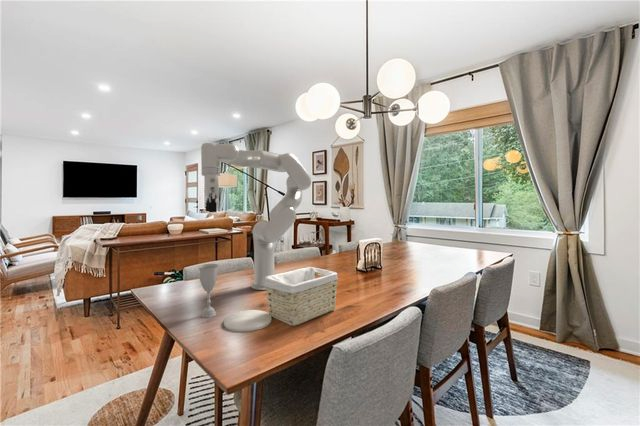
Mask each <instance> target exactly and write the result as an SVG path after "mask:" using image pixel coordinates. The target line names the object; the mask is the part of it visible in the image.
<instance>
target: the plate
mask: <svg viewBox="0 0 640 426" xmlns="http://www.w3.org/2000/svg"><path fill="white" fill-rule="evenodd" d="M223 319H224V320H223V327H224V328H225V329H226V330H229V331H232V332H237V333H248V332H255V331H259V330H261V329H264V328H266V327H268V326H269V325H271V323H272V317H271V315H270V314H269V311H265V310H259V309H248V310H247V309H246V310H240V311H236V312H233V313H231V314H228V315H227V316H225V318H223Z"/></svg>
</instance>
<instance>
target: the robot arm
mask: <svg viewBox="0 0 640 426" xmlns="http://www.w3.org/2000/svg"><path fill="white" fill-rule="evenodd" d="M200 148H201V149H200V153H201V156H200V157H201V159H200V160H201V169H200V170H201V176H202V177H203V176H204V177H203V178H204V179H203V180H204V181H203V182H204V183H203V184H204V185H203V186H204V188H203V189H204V197H205V211H206V212H208V213H217V212H218V211H217V210H218V207H217V206H218V205H217V204H218V203H217V199H219V198H220V189H219V188H220V187H219V177H220V176H221V168H220V167H221V163H224V164H228V165H233V166H240V167H245V168H246V167H247V168H252V169H261V170H267V171H273V172H277V173H286V174H287V175H288V176H287V178H286V183H285V184H286V194H285V195H284V196H283V198H282V199H281V200H280V201H279V202H278V203H276V205H274V207H273V208H272V209H271V210H270V213H269V220H268V221H267V220H260V221H258V222H257V223H255V224H254V226H253V228H252V240H253V250H254V251H253V261H254V263H253V264H254V265H253V267H254V270H253V271H254V272H253V274H254V276H253V277H254V278H253V279H254V280H253V281H254V282H252V283H251V284H250V287H251V289H252V290H257V291H259V290H260V291H267V290H266V287H265V277H267V276H271V275H275V243H276V242H278V241H279V240H281V238H282V237H283V236H284V235H285V234H286V232H288V230H289V229H290V228H291V227H292V226H293V225H294V223H295V222H296V218H297V213H296V210H297V208H299V206H300V205H301V202H302V199H303V191H305V190H308V189H309V188H310V186H311V185H312V179H311V178H312V177H311V176H310V174H309V172H308V171H307V170H306V169H305V167H304V166H303V164H302V163H301V162H300V161H299V160H298V157H296V156H295V155H294V154H293V153H291V152H287V153H282V154H281V153H278V152H277V153H276V152H271V151H267V150H261V149H254V150H244V149H239V148H238V147H237V146H236V145H235V144H232V143H214V142H204V143H202V144H201V147H200Z"/></svg>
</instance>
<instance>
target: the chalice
mask: <svg viewBox="0 0 640 426" xmlns="http://www.w3.org/2000/svg"><path fill="white" fill-rule="evenodd" d="M218 266H219V265H218V264H216V263H205V264H200V265H199V266H198V270H199V282H200V284H201V286H202V288H203V290H204V291H205V292H206V299H207V300H206V305H207V306H206V307H205V308H204V309H203V310H202V311H203V312H202V314H201V317H202V318H213V317H215V316H216V315H217V312H216V310H215V308H214V307H212V306H211V302H212V300H211V296H212V295H211V292H212V291H214V287H215V285H216V283H217V279H218Z"/></svg>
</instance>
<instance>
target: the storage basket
mask: <svg viewBox="0 0 640 426" xmlns="http://www.w3.org/2000/svg"><path fill="white" fill-rule="evenodd" d="M317 276H319V277H317ZM265 287H266V290H265V291H266V298H267V305H268V313H269V314H270V315H271V318H274V319H276V320H279V321H280V322H283V323H284V324H287V325H289V326H297V325H298V326H299V325H301V324H302V323H305V322H307V321H310V320H312V319H315V318H317V317H319V316H322V315H325V314H327V313H330V312H333V311H334V310H335V309H336V301H337V297H336V296H337V288H338V273H337V272H336V271H332V270H328V269H323V268H318V267H313V266H308V267H304V268H303V267H302V268H298V269H295V270H290V271H287V272H281V273H280V272H279V273H277V274H274V275H271V276H267V277H265Z"/></svg>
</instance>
